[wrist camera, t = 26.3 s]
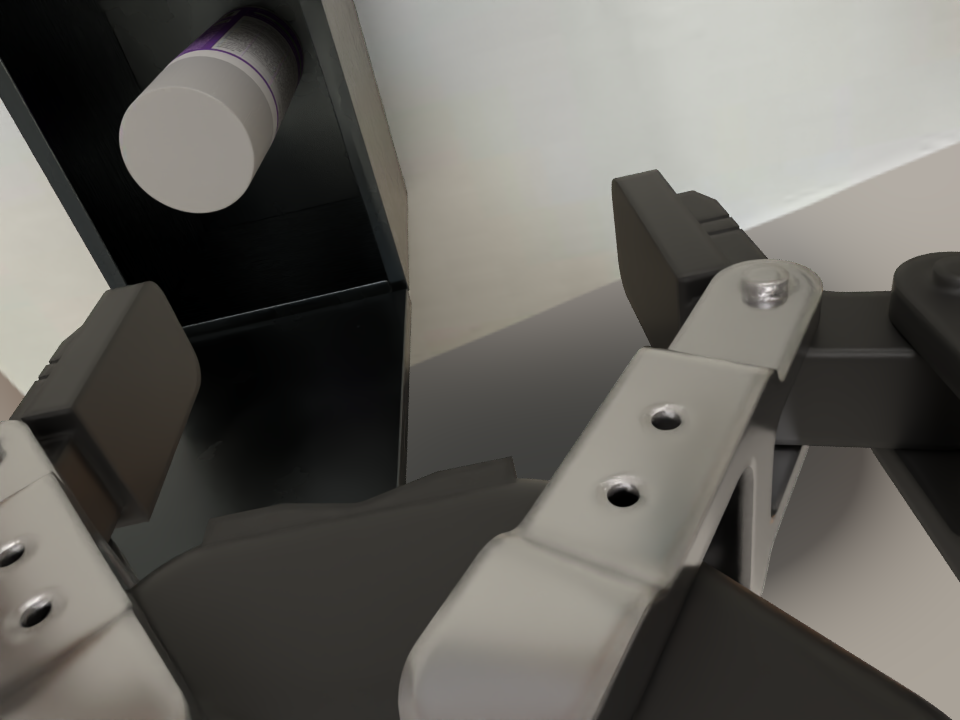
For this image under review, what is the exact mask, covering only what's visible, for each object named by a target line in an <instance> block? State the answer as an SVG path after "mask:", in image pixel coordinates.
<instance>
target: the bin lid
mask: <svg viewBox="0 0 960 720" xmlns="http://www.w3.org/2000/svg"><path fill="white" fill-rule="evenodd" d="M410 336H411V300H410V296H409V293H408V290H407V289H403V290H399V291H395V292H390V293H386V294H382V295H377V296H373V297H368V298H364V299H360V300H355V301H351V302H347V303H342V304H338V305H333V306H329V307H325V308H320V309H316V310H311V311H307V312H303V313H298V314H294V315H290V316H285V317H281V318H276V319H272V320H268V321H263V322H259V323H255V324H250V325H246V326H241V327H237V328H233V329H228V330H224V331H220V332H215V333H211V334H206V335H202V336H198V337H193V338H189V339H188V340H189V342H190V344H191V346H192V347H193V349H194V351H195V353H196V356H197V358H198V362H199V366H200V371H201V384H200V388H199V391H198V393H197V396H196V399H195V401H194V404H193V407H192V409H191V412H190V415H189V417H188V420H187V423H186V425H185V428H184V431H183V433H182V436H181V438H180V441H179V444H178V446H177V449H176V452H175V454H174V457H173V460H172V462H171V465H170V468H169V470H168V473H167V476H166V478H165V481H164V484H163V486H162V489H161V492H160V494H159V497H158V500H157V502H156V505H155V508H154V510H153V513H152V515H151V518H150V521H149V522H145V523H140V524H135V525H130V526H126V527H121V528H116V529H114V531H113V533H112V536H111V538H112V539H113V540H114V542H115V543H116V544H117V546H118V547H119V548H120V550H121V551H122V553H123V554H124V556H125V557H126V559H127V560H128V562H129V563H130V565H131V567H132V568H133V570H134V571H135V573H136V574H137V576H138V577H139V579H140V580H142V579H143V578H144V577H145V576H147V575H148V574H150V573H151V572H153V571H154V570H155V569H157V568H158V567H160V566H161V565H163V564H164V563H166V562H168V561H169V560H171V559H173V558H174V557H176V556H178V555H180V554H182V553H184V552H186V551H188V550H190V549H192V548H194V547H196V546H198V545H201V544H202V542H203V538H204V535H205V532H206V528H207V525H208V521H209V519H210V518H215V517H220V516H224V515H229V514H234V513H239V512H244V511H249V510H253V509H258V508H263V507H268V506H273V505H278V504H287V503H358V502H362V501H365V500H368V499H370V498H373V497H375V496H378V495H380V494H382V493H385V492H387V491H390V490H392V489H395V488H397V487H400V486H402V485H405V484H406V467H407V466H406V465H407V434H408V433H407V432H408V402H409V369H410Z"/></svg>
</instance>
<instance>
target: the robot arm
mask: <svg viewBox="0 0 960 720" xmlns="http://www.w3.org/2000/svg"><path fill="white" fill-rule="evenodd" d="M612 201H613V212H614V222H615V232H616V242H617V252H618V262H619V269H620V275H621V279H622V283H623V287H624V290H625V293H626V295H627V298H628V300H629V302H630V304H631V306H632V308H633V310H634V312H635V314H636V316H637V318H638V320H639V322H640V324H641V326H642V328H643V330H644V332H645V334H646V336H647V338H648V340H649V342H650V344H651V346H644V347H642V348H641V349H640V350H639V351H638V352H637V353H636V354H635V356H634V357H633V359H632V360H631V362H630V363H629V364H628V366H627V367H626V369H625V370H624V372H623V373H622V375H621V376H620V378H619V379H618V381H617V382H616V384H615V385H614V387H613V388H612V390H611V391H610V392H609V394H608V396H607V397H606V399H605V400H604V401H603V403H602V404H601V406H600V407H599V409H598V410H597V412H596V413H595V415H594V416H593V418H592V419H591V420H590V422H589V423H588V425H587V427H586V428H585V429H584V431H583V433H582V434H581V435H580V437H579V438H578V440H577V441H576V443H575V444H574V446H573V447H572V449H571V450H570V452H569V453H568V454H567V456H566V457H565V459H564V460H563V462H562V463H561V465H560V466H559V468H558V469H557V471H556V472H555V474H554V475H553V477H552V478H551V479H550V481H548V480H539V479H520V478H517V476H516V471H515V467H514V463H513V459H512V456H511V457H506V458H501V459H496V460H491V461H487V462H481V463H477V464H472V465H467V466H462V467H457V468H453V469H448V470H443V471H438V472H435V473H432V474H430V475H427V476H425V477H422V478H420V479H417V480H415V481H412V482H410V483H407V484H405V485H402V486H400V487H397V488H395V489H392V490H390V491H387V492H385V493H382V494H380V495H378V496H375V497H373V498H370V499H368V500H365V501H362V502H358V503H287V504H278V505H273V506H268V507H263V508H258V509H253V510H249V511H244V512H239V513H234V514H229V515H224V516H220V517H215V518H210V519H209V521H208V525H207V528H206V532H205V535H204V538H203V542H202V544H201V545H198V546H196V547H194V548H192V549H190V550H188V551H186V552H184V553H182V554H180V555H178V556H176V557H174V558H173V559H171V560H169V561H168V562H166V563H164V564H163V565H161V566H160V567H158V568H157V569H155V570H154V571H153V572H151V573H150V574H148V575H147V576H145V577H144V578H143V579H142V580H140V579H139V577H138V576H137V574H136V573H135V571H134V570H133V568H132V567H131V565H130V563H129V562H128V560H127V559H126V557H125V556H124V554H123V553H122V551H121V550H120V548H119V547H118V546H117V544H116V543H115V542H114V540H113V539H112V538H111V536H112V533H113V531H114V529H116V528H121V527H126V526H130V525H135V524H140V523H145V522H149V521H150V518H151V515H152V513H153V510H154V508H155V505H156V502H157V500H158V497H159V494H160V492H161V489H162V486H163V484H164V481H165V478H166V476H167V473H168V470H169V468H170V465H171V462H172V460H173V457H174V454H175V452H176V449H177V446H178V444H179V441H180V438H181V436H182V433H183V431H184V428H185V425H186V423H187V420H188V417H189V415H190V412H191V409H192V407H193V404H194V401H195V399H196V396H197V393H198V391H199V388H200V384H201V371H200V366H199V362H198V358H197V356H196V353H195V351H194V349H193V347H192V346H191V344H190V342H189V340H188V338H187V336H186V334H185V332H184V330H183V328H182V327H181V325H180V323H179V321H178V319H177V317H176V315H175V313H174V311H173V309H172V308H171V306H170V304H169V302H168V300H167V298H166V296H165V294H164V293H163V291H162V290H161V288H160V287H159V286H158V285H157V284H156V283H154V282H152V281H147V282H142V283H137V284H133V285H128V286H124V287H119V288H115V289H110V290H107V291H106V292H105V293H104V294H103V295H102V297H101V298H100V300H99V301H98V303H97V304H96V306H95V307H94V309H93V310H92V312H91V313H90V315H89V316H88V318H87V319H86V321H85V322H84V324H83V325H82V326H81V327H80V328H79V329H77V330H76V331H75V332H74V333H73V334H71V335H70V336H69V337H68V338H67V339H66V340H64V341H63V342H62V343H61V345H60V346H59V348H58V349H57V350H56V352H55V353H54V355H53V356H52V358H51V359H50V361H49V363H50V365H46V366H45V368H44V369H43V371H42V372H41V374H40V375H39V377H38V378H39V380H38V381H35V382H34V384H33V385H32V387H31V388H30V390H29V391H28V393H27V394H26V396H25V397H24V398H23V400H22V401H21V403H20V404H19V406H18V407H17V409H16V410H15V411H14V413H13V415H12V416H11V417H10V419H9V420H7V421H1V422H0V720H952V719H950V718H949V717H948V716H947V715H946V714H944V713H943V712H942V711H940V710H939V709H938V708H936V707H935V706H933V705H932V704H931V703H929V702H928V701H926V700H925V699H923V698H922V697H920V696H919V695H917V694H916V693H914V692H912V691H911V690H909V689H908V688H906V687H905V686H903V685H901V684H900V683H898V682H897V681H895V680H893V679H892V678H890V677H889V676H887V675H885V674H884V673H882V672H880V671H879V670H877V669H876V668H874V667H872V666H871V665H869V664H868V663H866V662H864V661H863V660H861V659H860V658H858V657H856V656H855V655H853V654H852V653H850V652H848V651H847V650H845V649H844V648H842V647H840V646H839V645H837V644H836V643H834V642H832V641H831V640H829V639H827V638H826V637H824V636H823V635H821V634H819V633H818V632H816V631H815V630H813V629H811V628H810V627H808V626H807V625H805V624H803V623H802V622H800V621H798V620H797V619H795V618H794V617H792V616H791V615H789V614H787V613H786V612H784V611H783V610H781V609H779V608H778V607H776V606H775V605H773V604H771V603H770V602H768V601H767V600H765V599H763V598H762V597H761V596H762V592H763V588H764V584H765V580H766V575H767V570H768V565H769V559H770V554H771V550H772V546H773V542H774V540H775V537H776V534H777V531H778V529H779V526H780V523H781V521H782V518H783V515H784V512H785V510H786V507H787V504H788V501H789V499H790V496H791V494H792V491H793V488H794V485H795V483H796V480H797V478H798V475H799V472H800V470H801V467H802V464H803V462H804V459H805V456H806V453H807V451H808V446H835V447H863V448H871V449H872V451H873V453H874V454H875V456H876V458H877V459H878V461H879V462H880V464H881V465H882V467H883V468H884V470H885V471H886V473H887V474H888V476H889V477H890V479H891V480H892V482H893V483H894V485H895V486H896V488H897V489H898V491H899V492H900V494H901V495H902V496H903V498H904V499H905V501H906V502H907V504H908V505H909V507H910V509H911V510H912V512H913V513H914V515H915V516H916V517H917V519H918V520H919V522H920V523H921V525H922V526H923V528H924V529H925V531H926V532H927V534H928V535H929V537H930V538H931V540H932V541H933V543H934V544H935V546H936V547H937V549H938V550H939V552H940V553H941V555H942V556H943V558H944V559H945V561H946V562H947V564H948V565H949V567H950V568H951V570H952V571H953V573H954V574H955V576H956V577H957V579H958V580H959V582H960V252H937V253H930V254H925V255H921V256H917V257H915V258H912V259H910V260H908V261H906V262H904V263H903V264H901V265H900V266H899V267H898V268H897V269H896V271H895V273H894V278H893V284H892V290H891V291H874V292H832V291H823V285H822V281H821V279H820V277H819V276H818V275H817V274H816V273H815V272H813V271H812V270H811V269H809V268H807V267H805V266H803V265H800V264H797V263H794V262H790V261H784V260H775V259H768V258H767V257H766V256H765V255H764V254H763V253H762V251H761V250H760V249H759V248H758V247H757V246H756V245H755V243H754V242H753V241H752V240H751V239H750V238H749V237H748V235H747V234H746V233H745V232H744V231H743V230H742V229H739V225H738V224H737V223H736V222H735V221H734V220H733V218H732V217H729V214H728V213H727V212H726V210H725V209H724V208H723V207H722V206H721V205H720V204H719V203H718V201H717V200H715V199H713V198H710V197H708V196H705V195H703V194H701V193H698V192H696V191H688V192H684V193H679V194H676V193H675V191H674V190H673V189H672V187H671V186H670V185H669V184H668V182H667V181H666V180H665V178H664V177H663V176H662V175H661V173H660V172H659V171H658V170H657V169H655V170H651V171H646V172H642V173H637V174H633V175H628V176H624V177H619V178H615V179H613V180H612Z"/></svg>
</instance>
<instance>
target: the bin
mask: <svg viewBox="0 0 960 720" xmlns="http://www.w3.org/2000/svg"><path fill="white" fill-rule="evenodd" d="M243 6H258V7H262V8H266V9H268V10H271V11H273V12H274V13H276V14H278V15H279V16H281V17H282V18H283V19H284V20H285V21H287V22H288V23H289V25H290V26H291V27H292V28H293V30H294V31H295V33H296V34H297V36H298V38H299V40H300V43H301V45H302V49H303V54H304V68H303V73H302V76H301V79H300V82H299V84H298V86H297V88H296V91H295V93H294V95H293V97H292V100H291V102H290V104H289V107H288V109H287V111H286V113H285V116H284V118H283V120H282V122H281V125H280V127H279V129H278V131H277V134H276V136H275V138H274V140H273V143H272V144H271V146H270V148H269V150H268V152H267V153H266V155H265V157H264V159H263V161H262V163H261V164H260V166H259V168H258V170H257V172H256V174H255V175H254V177H253V179H252V181H251V183H250V185H249V186H248V188H247V190H246V191H245V192H244V194H243V195H242V196H241V197H240V198H239V199H238V200H237V201H236V202H234V203H233V204H231V205H230V206H228V207H226V208H223V209H221V210H218V211H214V212H209V213H190V212H184V211H180V210H177V209H173V208H171V207H169V206H166V205H164V204H162V203H160V202H159V201H157V200H156V199H154V198H153V197H151V196H150V195H149V194H148V193H146V192H145V191H144V190H143V189H142V188H141V187H140V186H139V185H138V184H137V183H136V181H135V180H134V179H133V177H132V176H131V174H130V173H129V171H128V169H127V167H126V165H125V163H124V160H123V157H122V154H121V150H120V143H119V132H120V126H121V122H122V119H123V116H124V114H125V112H126V111H127V109H128V108H129V106H130V105H131V104H132V103H133V102H134V101H135V100H136V99H137V97H138V96H139V95H140V94H141V93H142V92H143V91H144V90H145V89H146V88H147V87H148V86H149V85H150V84H151V83H152V82H153V80H154V79H155V78H156V77H157V76H158V75H159V74H160V73H161V72H162V71H163V70H164V69H165V68H166V66H167V65H168V64H169V63H170V62H171V61H172V60H174V59H175V58H176V57H177V56H178V55H179V54H180V53H182V52H183V51H184V50H185V49H186V48H187V47H188V46H189V45H191V44H192V43H193V42H194V41H195V40H196V39H197V38H198V37H200V36H201V35H202V34H203V33H204V32H205V31H206V30H207V29H209V28H210V27H211V26H212V25H213V24H214V23H215V22H216V21H218V20H219V19H220V18H221V17H222V16H223V15H225V14H226V13H228V12H229V11H231V10H233V9H235V8H238V7H243ZM0 98H1V99H2V101H3V103H4V104H5V106H6V108H7V110H8V111H9V113H10V115H11V117H12V118H13V120H14V122H15V124H16V125H17V127H18V129H19V130H20V132H21V134H22V136H23V137H24V139H25V141H26V143H27V144H28V146H29V148H30V150H31V151H32V153H33V155H34V156H35V158H36V160H37V162H38V163H39V165H40V167H41V169H42V170H43V172H44V174H45V176H46V177H47V179H48V181H49V183H50V184H51V186H52V188H53V189H54V191H55V193H56V195H57V196H58V198H59V200H60V202H61V203H62V205H63V207H64V209H65V210H66V212H67V214H68V215H69V217H70V219H71V221H72V222H73V224H74V226H75V228H76V229H77V231H78V233H79V235H80V236H81V238H82V240H83V242H84V243H85V245H86V247H87V248H88V250H89V252H90V254H91V255H92V257H93V259H94V261H95V262H96V264H97V266H98V268H99V269H100V271H101V273H102V274H103V276H104V278H105V280H106V281H107V283H108V285H109V287H110V288H111V289H115V288H119V287H124V286H128V285H133V284H137V283H142V282H147V281H152V282H154V283H156V284H157V285H158V286H159V287H160V288H161V290H162V291H163V293H164V294H165V296H166V298H167V300H168V302H169V304H170V306H171V308H172V309H173V311H174V313H175V315H176V317H177V319H178V321H179V323H180V325H181V327H182V328H183V330H184V332H185V334H186V336H187V338H188V339H189V338H193V337H198V336H202V335H206V334H211V333H215V332H220V331H224V330H228V329H233V328H237V327H241V326H246V325H250V324H255V323H259V322H263V321H268V320H272V319H276V318H281V317H285V316H290V315H294V314H298V313H303V312H307V311H311V310H316V309H320V308H325V307H329V306H333V305H338V304H342V303H347V302H351V301H355V300H360V299H364V298H368V297H373V296H377V295H382V294H386V293H390V292H395V291H399V290H403V289H407V290H408V291H409V257H408V207H407V190H406V187H405V183H404V180H403V176H402V173H401V169H400V165H399V162H398V158H397V155H396V151H395V148H394V144H393V140H392V137H391V133H390V130H389V126H388V123H387V119H386V115H385V112H384V108H383V105H382V101H381V98H380V94H379V90H378V87H377V83H376V80H375V76H374V73H373V69H372V66H371V62H370V58H369V55H368V51H367V48H366V44H365V41H364V37H363V33H362V30H361V26H360V23H359V19H358V16H357V12H356V8H355V5H354V1H353V0H0Z"/></svg>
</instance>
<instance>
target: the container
mask: <svg viewBox="0 0 960 720" xmlns="http://www.w3.org/2000/svg"><path fill="white" fill-rule="evenodd" d="M303 68H304V54H303V49H302V45H301V43H300V40H299V38H298V36H297V34H296V33H295V31H294V30H293V28H292V27H291V26H290V25H289V23H288V22H287V21H285V20H284V19H283V18H282V17H281V16H279V15H278V14H276V13H274V12H273V11H271V10H268V9H266V8H262V7H258V6H243V7H238V8H235V9H233V10H231V11H229V12H228V13H226V14H225V15H223V16H222V17H221V18H220V19H219V20H218V21H216V22H215V23H214V24H213V25H212V26H211V27H210V28H209V29H207V30H206V31H205V32H204V33H203V34H202V35H201V36H200V37H198V38H197V39H196V40H195V41H194V42H193V43H192V44H191V45H189V46H188V47H187V48H186V49H185V50H184V51H183V52H182V53H180V54H179V55H178V56H177V57H176V58H175V59H174V60H172V61H171V62H170V63H169V64H168V65H167V66H166V68H165V69H164V70H163V71H162V72H161V73H160V74H159V75H158V76H157V77H156V78H155V79H154V80H153V82H152V83H151V84H150V85H149V86H148V87H147V88H146V89H145V90H144V91H143V92H142V93H141V94H140V95H139V96H138V97H137V99H136V100H135V101H134V102H133V103H132V104H131V105H130V106H129V108H128V109H127V111H126V112H125V114H124V116H123V119H122V122H121V126H120V132H119V143H120V150H121V154H122V157H123V160H124V163H125V165H126V167H127V169H128V171H129V173H130V174H131V176H132V177H133V179H134V180H135V181H136V183H137V184H138V185H139V186H140V187H141V188H142V189H143V190H144V191H145V192H146V193H148V194H149V195H150V196H151V197H153V198H154V199H156V200H157V201H159V202H160V203H162V204H164V205H166V206H169V207H171V208H173V209H177V210H180V211H184V212H190V213H209V212H214V211H218V210H221V209H223V208H226V207H228V206H230V205H231V204H233V203H234V202H236V201H237V200H238V199H239V198H240V197H241V196H242V195H243V194H244V192H245V191H246V190H247V188H248V186H249V185H250V183H251V181H252V179H253V177H254V175H255V174H256V172H257V170H258V168H259V166H260V164H261V163H262V161H263V159H264V157H265V155H266V153H267V152H268V150H269V148H270V146H271V144H272V143H273V140H274V138H275V136H276V134H277V131H278V129H279V127H280V125H281V122H282V120H283V118H284V116H285V113H286V111H287V109H288V107H289V104H290V102H291V100H292V97H293V95H294V93H295V91H296V88H297V86H298V84H299V82H300V79H301V76H302V73H303Z"/></svg>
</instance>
